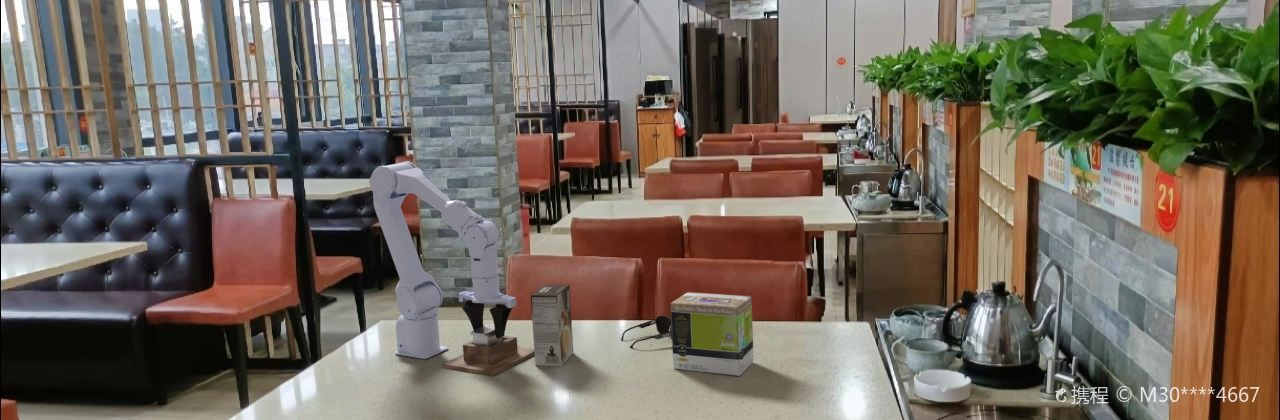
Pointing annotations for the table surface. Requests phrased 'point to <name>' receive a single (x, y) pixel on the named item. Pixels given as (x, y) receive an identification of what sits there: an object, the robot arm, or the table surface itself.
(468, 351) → the walnut holder
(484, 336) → the pale gray rectangular block
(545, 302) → the coffee box
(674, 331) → the tea box
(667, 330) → the sunglasses
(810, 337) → the table surface
